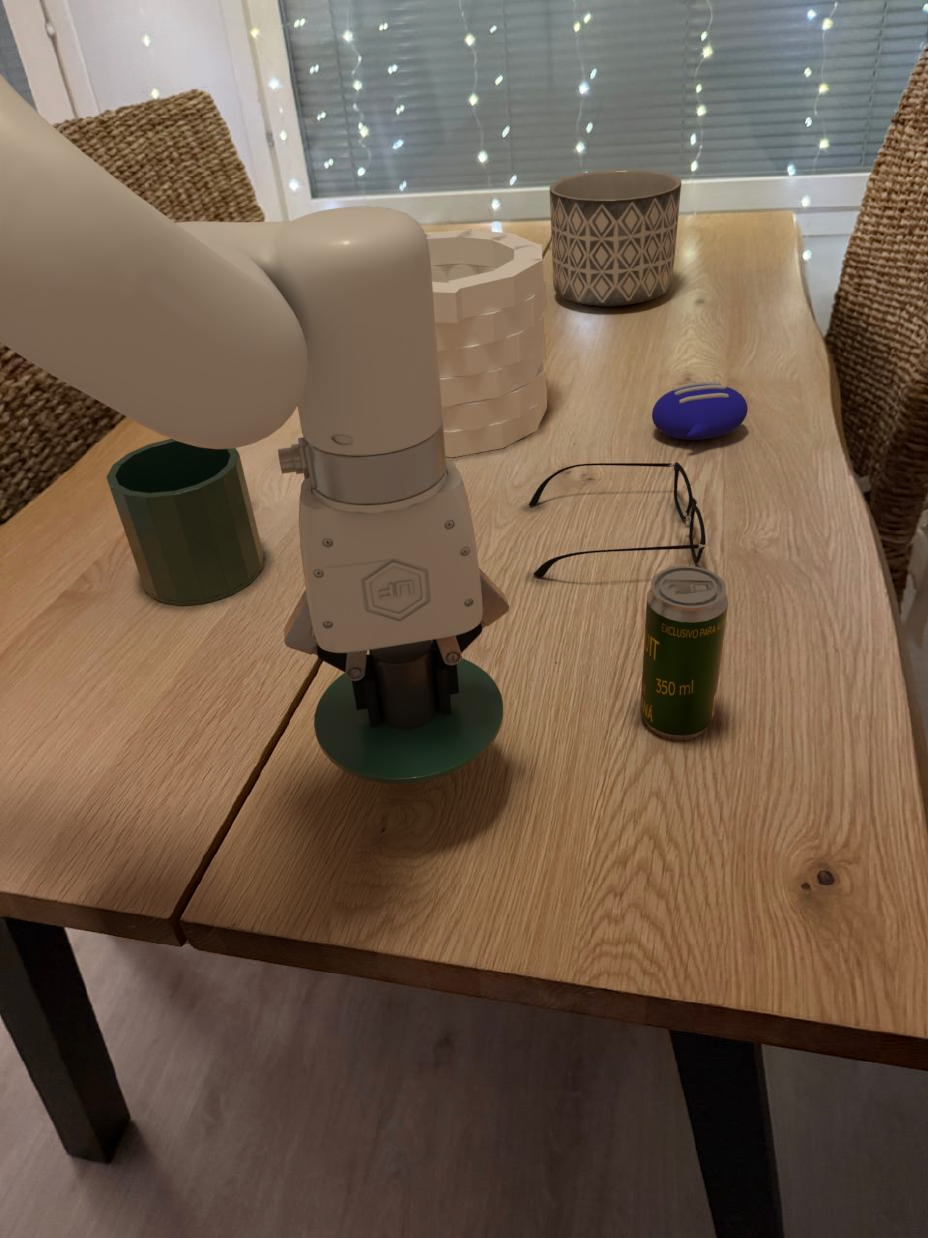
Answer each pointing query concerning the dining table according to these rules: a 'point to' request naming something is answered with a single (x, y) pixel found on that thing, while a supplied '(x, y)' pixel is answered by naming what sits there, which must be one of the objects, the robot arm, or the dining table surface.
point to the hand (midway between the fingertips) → (408, 704)
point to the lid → (409, 719)
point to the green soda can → (682, 651)
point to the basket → (488, 337)
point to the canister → (187, 521)
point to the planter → (614, 235)
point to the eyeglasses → (692, 503)
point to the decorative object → (699, 411)
